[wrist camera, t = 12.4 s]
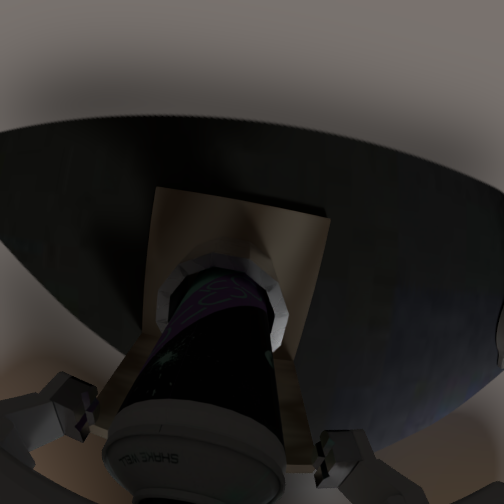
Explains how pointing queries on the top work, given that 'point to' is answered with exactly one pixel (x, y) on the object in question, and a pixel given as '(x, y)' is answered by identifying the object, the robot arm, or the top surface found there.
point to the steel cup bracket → (229, 257)
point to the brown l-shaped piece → (292, 286)
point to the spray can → (204, 404)
